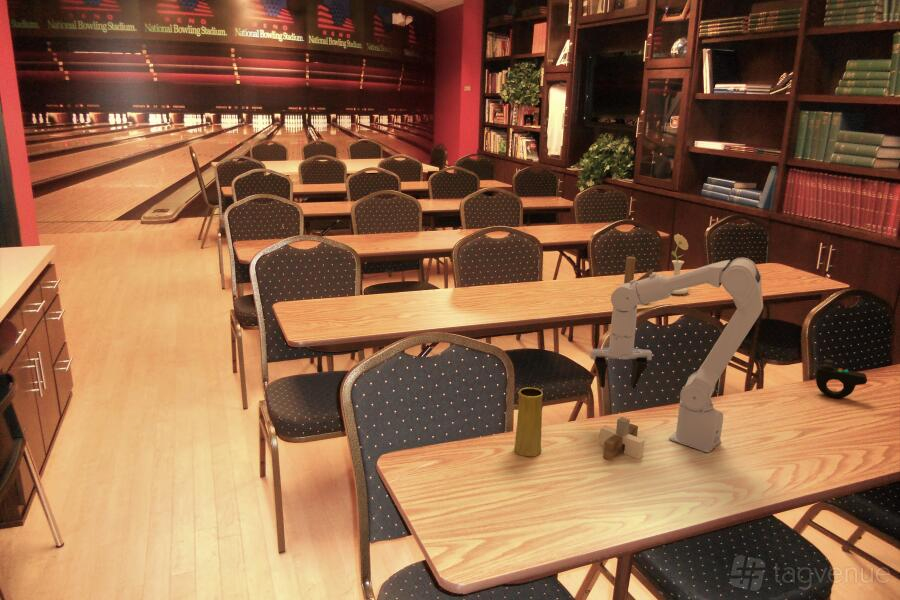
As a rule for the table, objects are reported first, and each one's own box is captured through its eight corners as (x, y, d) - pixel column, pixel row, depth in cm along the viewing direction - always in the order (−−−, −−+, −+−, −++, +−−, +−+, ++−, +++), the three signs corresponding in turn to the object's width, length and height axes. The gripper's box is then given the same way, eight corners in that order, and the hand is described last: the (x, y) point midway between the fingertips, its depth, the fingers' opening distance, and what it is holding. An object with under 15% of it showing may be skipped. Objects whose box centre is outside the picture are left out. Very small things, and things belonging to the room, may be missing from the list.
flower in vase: (692, 296, 279) (699, 238, 272) (664, 296, 279) (671, 237, 272) (682, 288, 291) (689, 232, 284) (656, 288, 291) (662, 231, 285)
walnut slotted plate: (628, 438, 156) (630, 423, 155) (636, 441, 155) (638, 426, 154) (603, 457, 147) (604, 441, 146) (611, 460, 146) (612, 444, 145)
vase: (509, 446, 151) (512, 388, 148) (533, 442, 154) (537, 385, 150) (521, 459, 146) (524, 399, 142) (546, 454, 148) (550, 395, 144)
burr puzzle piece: (599, 443, 154) (601, 413, 151) (603, 440, 155) (606, 411, 153) (638, 459, 147) (641, 428, 145) (642, 456, 148) (646, 425, 146)
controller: (811, 389, 186) (817, 356, 184) (862, 400, 180) (870, 365, 177) (810, 394, 183) (816, 360, 180) (862, 405, 177) (869, 370, 174)
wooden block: (646, 305, 265) (650, 261, 260) (620, 300, 271) (624, 257, 266) (649, 303, 268) (654, 259, 263) (624, 298, 274) (628, 255, 269)
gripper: (596, 338, 154) (591, 392, 158) (658, 339, 155) (652, 393, 158) (589, 328, 161) (585, 380, 165) (649, 329, 161) (643, 381, 165)
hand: (617, 386), depth 162 cm, fingers open, 7 cm apart
